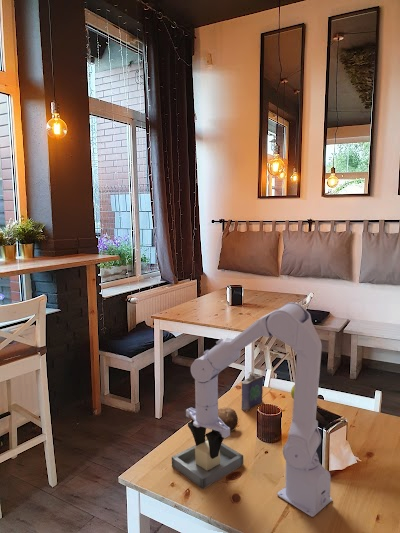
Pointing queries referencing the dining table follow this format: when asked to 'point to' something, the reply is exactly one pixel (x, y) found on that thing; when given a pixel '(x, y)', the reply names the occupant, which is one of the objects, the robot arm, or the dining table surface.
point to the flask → (252, 391)
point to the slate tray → (198, 474)
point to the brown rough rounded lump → (228, 417)
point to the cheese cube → (205, 456)
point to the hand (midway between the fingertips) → (207, 452)
